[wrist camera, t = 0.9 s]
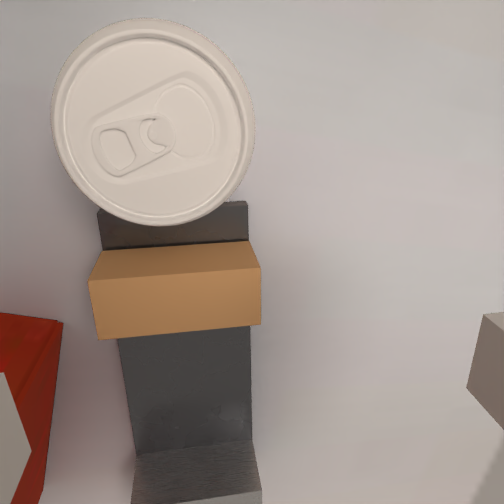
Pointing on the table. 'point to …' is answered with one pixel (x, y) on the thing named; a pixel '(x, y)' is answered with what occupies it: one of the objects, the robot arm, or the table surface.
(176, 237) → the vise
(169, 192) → the beverage can
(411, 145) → the table surface
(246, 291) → the block
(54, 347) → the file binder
